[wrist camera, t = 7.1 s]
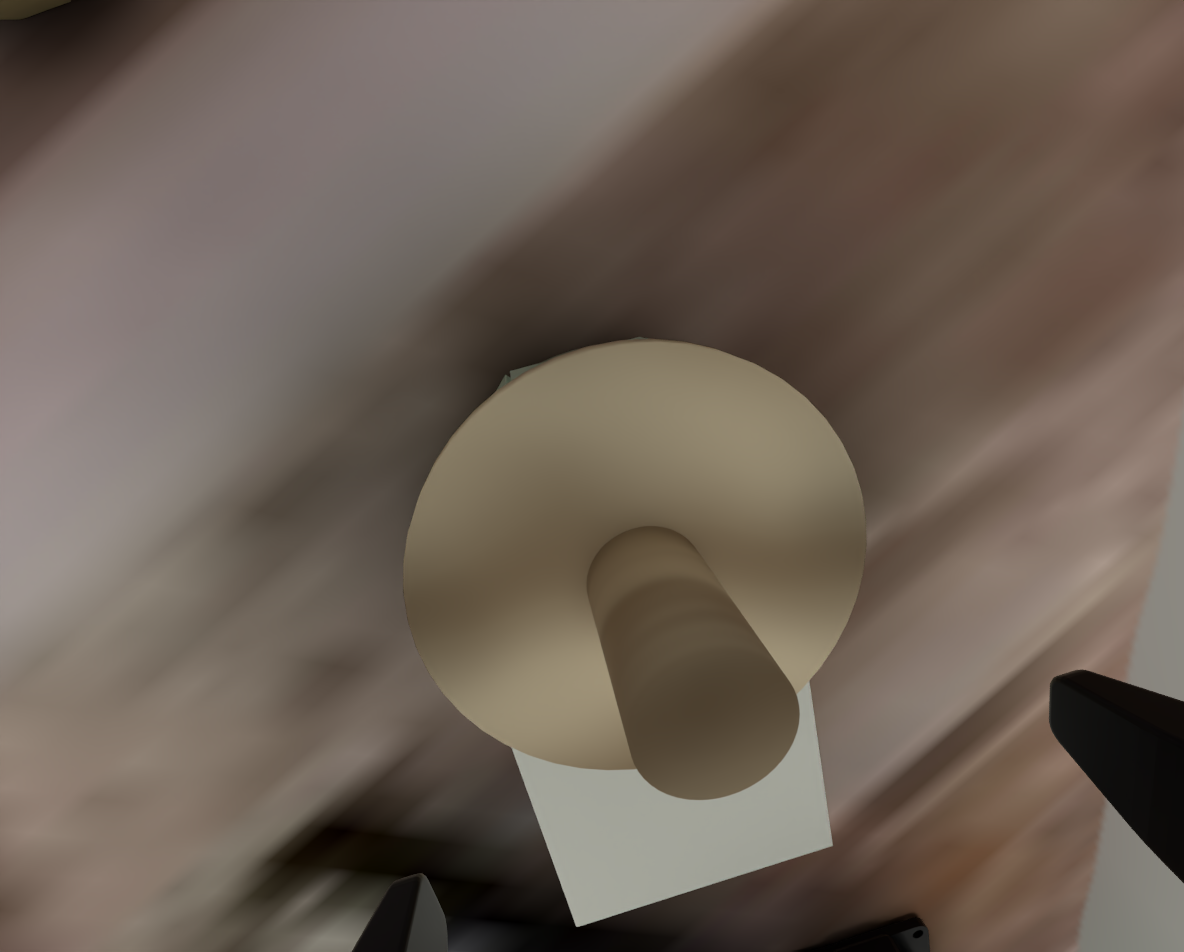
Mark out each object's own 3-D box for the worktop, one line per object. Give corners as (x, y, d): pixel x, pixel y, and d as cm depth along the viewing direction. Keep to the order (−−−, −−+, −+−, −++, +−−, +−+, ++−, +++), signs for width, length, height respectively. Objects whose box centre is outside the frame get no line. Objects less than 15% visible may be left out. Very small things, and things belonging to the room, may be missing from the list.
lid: (865, 681, 17) (1032, 868, 12) (485, 795, 17) (479, 1048, 11) (825, 284, 14) (1041, 293, 8) (335, 411, 13) (219, 513, 8)
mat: (828, 837, 26) (832, 845, 26) (575, 917, 25) (576, 927, 25) (796, 618, 22) (801, 625, 22) (499, 706, 22) (499, 714, 21)
